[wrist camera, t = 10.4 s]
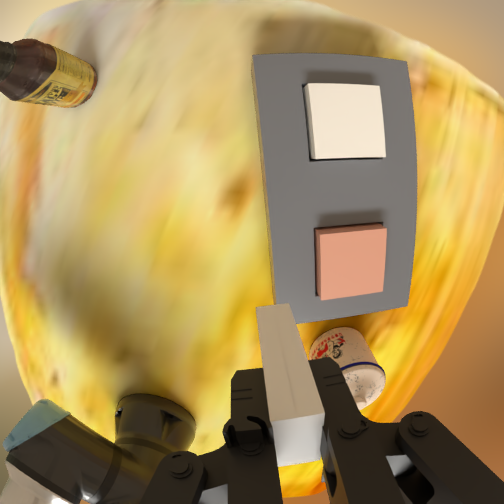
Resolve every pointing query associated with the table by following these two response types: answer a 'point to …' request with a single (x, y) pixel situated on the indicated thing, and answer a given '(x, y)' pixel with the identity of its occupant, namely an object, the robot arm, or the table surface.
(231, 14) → the table surface
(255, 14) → the table surface
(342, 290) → the terracotta key
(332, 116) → the ivory key
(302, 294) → the key box
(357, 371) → the teacup with lid
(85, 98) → the sauce bottle
